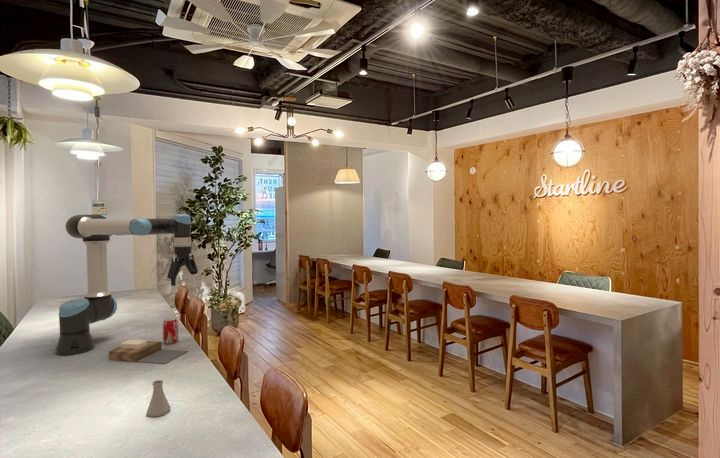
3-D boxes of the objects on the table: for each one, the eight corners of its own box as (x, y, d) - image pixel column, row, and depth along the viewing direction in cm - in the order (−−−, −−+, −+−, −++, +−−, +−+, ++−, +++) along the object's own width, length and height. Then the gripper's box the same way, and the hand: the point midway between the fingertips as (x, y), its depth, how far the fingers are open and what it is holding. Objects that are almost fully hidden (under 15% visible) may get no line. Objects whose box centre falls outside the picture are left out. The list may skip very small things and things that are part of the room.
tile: (120, 347, 182) (120, 343, 182) (130, 343, 188) (130, 339, 188) (137, 348, 180) (137, 344, 180) (147, 344, 186) (147, 340, 186)
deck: (109, 360, 177) (108, 351, 177) (135, 348, 193) (135, 340, 193) (136, 362, 175) (136, 353, 175) (161, 350, 190) (161, 341, 190)
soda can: (172, 345, 198) (172, 321, 197) (159, 344, 199) (159, 320, 199) (181, 340, 205) (181, 317, 204) (169, 340, 206) (168, 316, 206)
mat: (136, 362, 175) (136, 361, 175) (161, 350, 190) (161, 349, 190) (165, 364, 172) (165, 363, 172) (187, 351, 188) (187, 350, 188)
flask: (151, 407, 133) (151, 377, 133) (174, 406, 134) (173, 376, 134) (141, 418, 126) (141, 387, 126) (165, 417, 127) (164, 386, 126)
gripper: (172, 248, 181) (173, 294, 181) (204, 244, 205) (205, 285, 206) (158, 248, 182) (159, 294, 183) (191, 244, 206) (192, 285, 207)
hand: (183, 289), depth 194 cm, fingers open, 13 cm apart
